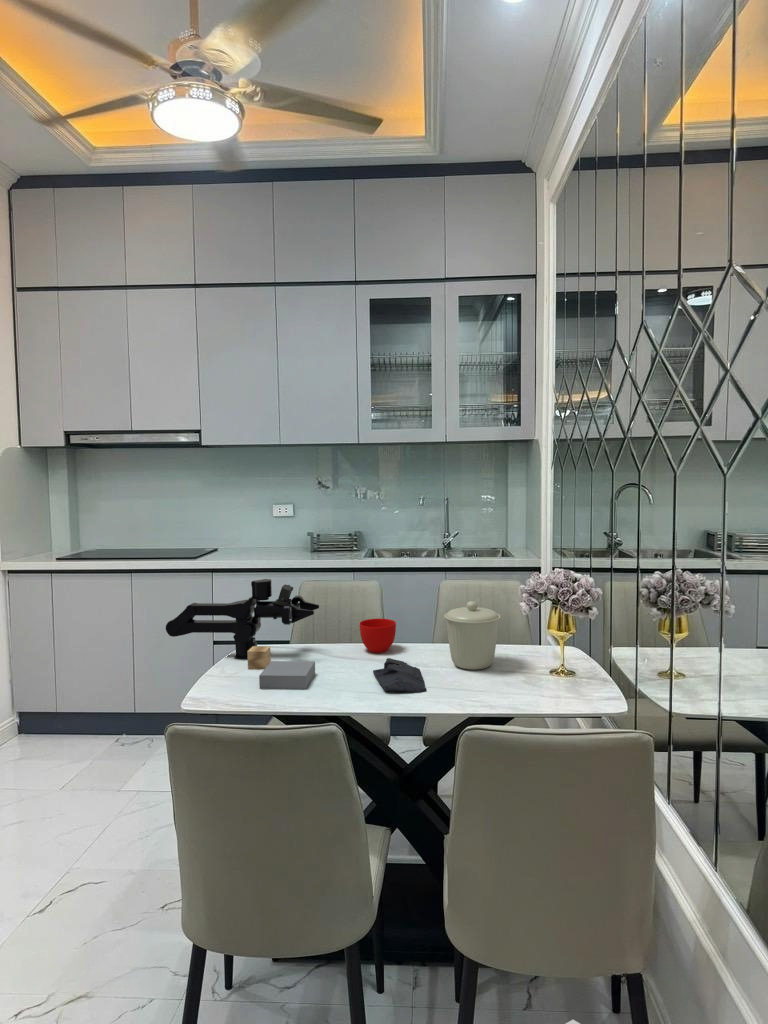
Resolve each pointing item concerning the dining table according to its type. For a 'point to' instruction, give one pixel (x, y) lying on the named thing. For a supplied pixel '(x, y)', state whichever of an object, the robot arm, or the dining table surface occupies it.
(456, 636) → the canister
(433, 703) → the dining table surface
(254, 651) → the oak block
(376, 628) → the ceramic cup
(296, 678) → the slate pedestal
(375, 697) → the dining table surface
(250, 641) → the robot arm
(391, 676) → the dark slate chunk
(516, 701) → the dining table surface
